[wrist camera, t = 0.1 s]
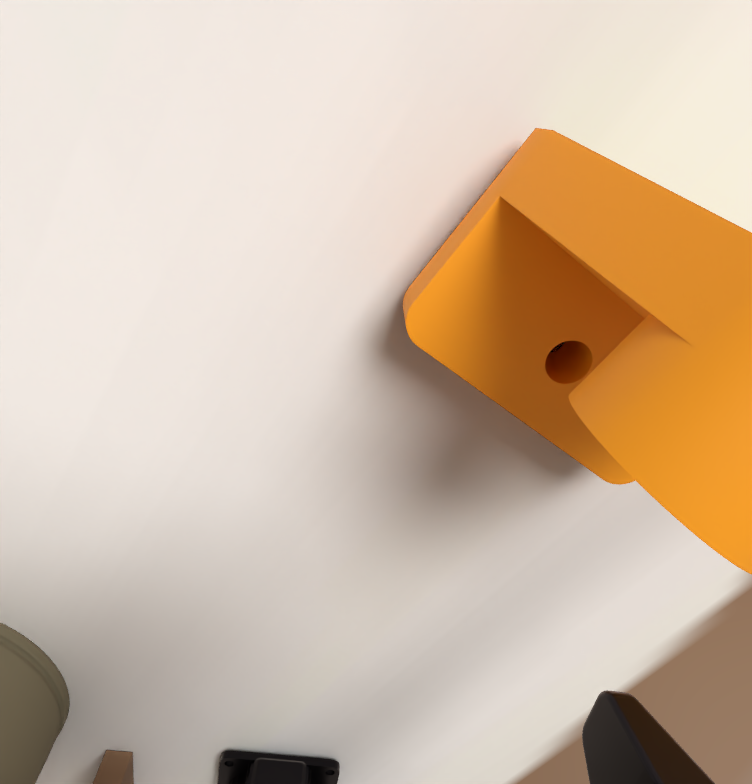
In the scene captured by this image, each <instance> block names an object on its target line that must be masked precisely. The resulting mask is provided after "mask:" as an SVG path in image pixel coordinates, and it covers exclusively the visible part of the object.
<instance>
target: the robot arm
mask: <svg viewBox="0 0 752 784" xmlns="http://www.w3.org/2000/svg"><path fill="white" fill-rule="evenodd" d="M582 738H583V747H584V753H585V758H586V763H587V770H588V776H589V781H590V784H715V783H714V782H713V781H712V780H711V779H710V778H709V777H708V776H707V774H705V772H704V771H703V770H702V769H701V768H700V767H699V766H698V765H697V764H696V763H695V761H694V760H693V759H692V758H691V757H690V756H689V755H688V754H687V753H686V752H685V751H684V750H683V749H682V748H681V746H680V745H679V744H678V743H677V742H676V741H675V740H674V739H673V738H672V737H671V736H670V734H669V733H668V732H667V731H666V730H665V729H664V728H663V727H662V726H661V725H660V724H659V723H658V722H657V720H656V719H654V717H653V716H652V715H651V714H650V713H649V712H648V711H647V710H646V709H645V708H644V707H643V705H642V704H641V703H640V702H639V701H638V700H637V699H636V698H635V697H633V696H632V695H631V694H629V693H625V692H616V691H603V692H602V693H600V694H599V696H598V698H597V700H596V702H595V704H594V706H593V708H592V710H591V712H590V714H589V716H588V718H587V720H586V722H585V724H584V727H583V734H582ZM339 767H340V766H339V763H338V762H337V761H335V760H330V759H319V758H308V757H297V756H286V755H274V754H263V753H252V752H241V751H225V752H223V753H222V755H221V760H220V767H219V781H218V784H337V781H338V777H339Z"/></svg>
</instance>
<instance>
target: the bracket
mask: <svg viewBox="0 0 752 784" xmlns="http://www.w3.org/2000/svg"><path fill="white" fill-rule="evenodd" d="M403 312H404V318H405V324H406V329H407V333H408V335H409V337H410V339H411V340H412V341H413V342H414V343H415V344H416V345H417V346H418V347H419V348H421V349H422V350H424V351H425V352H426V353H428V354H429V355H431V356H432V357H433V358H435V359H436V360H438V361H439V362H440V363H442V364H443V365H444V366H446V367H447V368H449V369H450V370H451V371H453V372H454V373H456V374H457V375H458V376H460V377H461V378H463V379H464V380H465V381H467V382H468V383H470V384H471V385H472V386H474V387H475V388H476V389H478V390H479V391H481V392H482V393H483V394H485V395H486V396H488V397H489V398H490V399H492V400H493V401H495V402H496V403H497V404H499V405H500V406H501V407H503V408H504V409H506V410H507V411H508V412H510V413H511V414H513V415H514V416H515V417H517V418H518V419H520V420H521V421H522V422H524V423H525V424H527V425H528V426H529V427H531V428H532V429H533V430H535V431H536V432H538V433H539V434H540V435H542V436H543V437H545V438H546V439H547V440H549V441H550V442H552V443H553V444H554V445H556V446H557V447H558V448H560V449H561V450H563V451H564V452H565V453H567V454H568V455H570V456H571V457H572V458H574V459H575V460H577V461H578V462H579V463H581V464H582V465H584V466H585V467H586V468H588V469H589V470H590V471H592V472H593V473H595V474H596V475H597V476H599V477H600V478H602V479H603V480H605V481H606V482H609V483H612V484H626V483H630V482H633V481H635V480H636V481H637V482H638V483H639V484H640V485H641V486H642V487H643V488H644V489H645V490H646V491H647V492H648V493H649V494H650V495H651V496H652V497H653V498H654V499H656V500H657V501H658V502H659V503H660V504H661V505H662V506H663V507H664V508H665V509H666V510H667V511H669V512H670V513H671V514H672V515H673V516H674V517H675V518H676V519H677V520H679V521H680V522H681V523H682V524H683V525H684V526H686V527H687V528H688V529H689V530H690V531H691V532H693V533H694V534H695V535H696V536H697V537H699V538H700V539H701V540H702V541H703V542H705V543H706V544H707V545H709V546H710V547H711V548H712V549H714V550H715V551H716V552H718V553H719V554H720V555H722V556H723V557H724V558H726V559H727V560H729V561H730V562H731V563H733V564H734V565H736V566H737V567H739V568H741V569H742V570H744V571H746V572H748V573H750V574H752V233H751V232H749V231H747V230H745V229H743V228H741V227H739V226H737V225H735V224H734V223H732V222H730V221H728V220H726V219H724V218H722V217H720V216H718V215H716V214H714V213H712V212H710V211H708V210H706V209H705V208H703V207H701V206H699V205H697V204H695V203H693V202H691V201H689V200H687V199H685V198H683V197H681V196H679V195H677V194H675V193H674V192H672V191H670V190H668V189H666V188H664V187H662V186H660V185H658V184H656V183H654V182H652V181H650V180H648V179H646V178H644V177H643V176H641V175H639V174H637V173H635V172H633V171H631V170H629V169H627V168H625V167H623V166H621V165H619V164H617V163H615V162H613V161H612V160H610V159H608V158H606V157H604V156H602V155H600V154H598V153H596V152H594V151H592V150H590V149H588V148H586V147H584V146H583V145H581V144H579V143H577V142H575V141H573V140H571V139H569V138H567V137H565V136H563V135H561V134H559V133H557V132H555V131H553V130H547V129H539V128H535V130H534V131H533V132H532V133H531V135H530V136H529V137H528V138H527V140H526V141H525V142H524V143H523V145H522V146H521V147H520V148H519V150H518V151H517V152H516V153H515V155H514V156H513V157H512V158H511V160H510V161H509V162H508V163H507V165H506V166H505V167H504V169H503V170H502V171H501V172H500V174H499V175H498V176H497V177H496V179H495V180H494V181H493V182H492V184H491V185H490V186H489V187H488V189H487V190H486V191H485V192H484V194H483V195H482V196H481V197H480V199H479V200H478V201H477V202H476V204H475V205H474V206H473V207H472V209H471V210H470V211H469V212H468V214H467V215H466V216H465V217H464V219H463V220H462V221H461V222H460V224H459V225H458V226H457V227H456V229H455V230H454V231H453V233H452V234H451V235H450V236H449V238H448V239H447V240H446V241H445V243H444V244H443V245H442V246H441V248H440V249H439V250H438V251H437V253H436V254H435V255H434V256H433V258H432V259H431V260H430V261H429V263H428V264H427V265H426V266H425V268H424V269H423V270H422V271H421V273H420V274H419V275H418V276H417V278H416V279H415V280H414V281H413V283H412V284H411V285H410V286H409V288H408V289H407V291H406V293H405V295H404V299H403ZM562 342H565V343H564V344H563V346H562V347H561V348H560V349H558V350H557V351H555V352H553V353H550V351H551V350H552V349H553V348H554V347H555V346H557V345H558V344H560V343H562Z"/></svg>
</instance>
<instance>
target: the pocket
mask: <svg viewBox="0 0 752 784" xmlns="http://www.w3.org/2000/svg"><path fill="white" fill-rule="evenodd" d="M93 784H134V781H133V752H122V751H111V750H106V752H105V755H104V757H103V760H102V762H101V764H100V767H99V769H98V772H97V774H96V777H95V779H94V782H93Z"/></svg>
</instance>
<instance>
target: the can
mask: <svg viewBox="0 0 752 784" xmlns="http://www.w3.org/2000/svg"><path fill="white" fill-rule="evenodd" d="M68 712H69V694H68V689H67V686H66V683H65V681H64V679H63V677H62V675H61V673H60V671H59V670H58V668H57V667H56V665H55V664H54V663H53V662H52V660H51V659H50V658H49V657H48V656H47V655H46V654H45V653H44V652H43V651H42V650H41V649H40V648H39V647H38V646H36V645H35V644H34V643H33V642H31V641H30V640H29V639H27V638H26V637H25V636H23V635H21V634H20V633H18V632H17V631H15V630H13V629H12V628H10V627H8V626H6V625H4V624H2V623H0V784H35V782H36V780H37V778H38V776H39V774H40V772H41V770H42V768H43V766H44V764H45V762H46V760H47V757H48V755H49V753H50V751H51V749H52V747H53V744H54V742H55V740H56V738H57V736H58V735H59V733H60V731H61V730H62V728H63V726H64V723H65V721H66V719H67V715H68Z"/></svg>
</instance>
